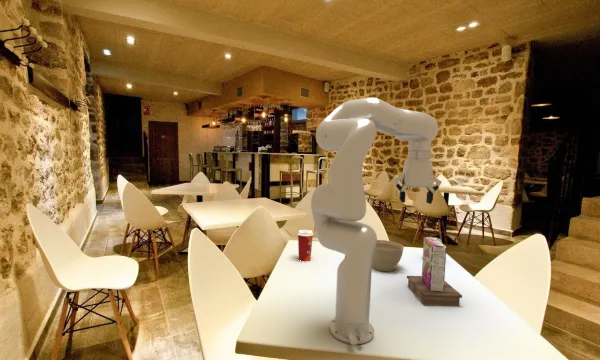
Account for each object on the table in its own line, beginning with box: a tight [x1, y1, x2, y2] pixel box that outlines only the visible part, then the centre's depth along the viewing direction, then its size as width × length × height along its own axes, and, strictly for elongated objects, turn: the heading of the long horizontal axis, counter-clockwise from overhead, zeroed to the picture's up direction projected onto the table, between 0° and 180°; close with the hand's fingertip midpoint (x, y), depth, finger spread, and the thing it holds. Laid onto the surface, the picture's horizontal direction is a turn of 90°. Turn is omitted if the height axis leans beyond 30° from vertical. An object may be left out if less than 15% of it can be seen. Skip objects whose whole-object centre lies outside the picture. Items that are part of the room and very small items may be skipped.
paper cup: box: [297, 229, 314, 262], centre depth 142 cm, size 8×8×14 cm
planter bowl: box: [372, 239, 404, 272], centre depth 134 cm, size 16×16×11 cm
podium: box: [406, 275, 463, 307], centre depth 108 cm, size 16×13×4 cm
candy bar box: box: [421, 236, 448, 292], centre depth 107 cm, size 11×5×16 cm, turn 172°
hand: (415, 202), depth 109 cm, fingers open, 9 cm apart
